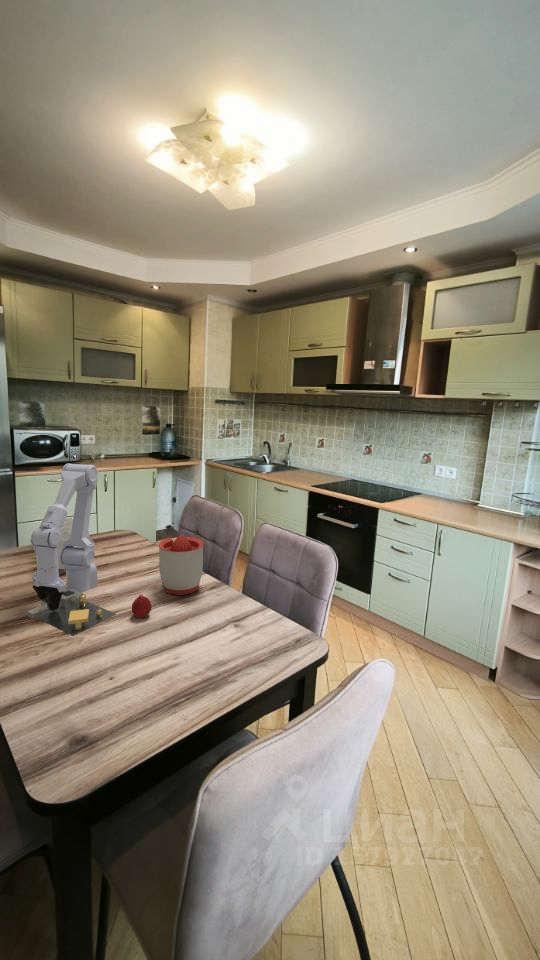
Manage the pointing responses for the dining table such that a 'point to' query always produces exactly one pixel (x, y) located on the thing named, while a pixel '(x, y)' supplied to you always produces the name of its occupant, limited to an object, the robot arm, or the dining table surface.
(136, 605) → the onion
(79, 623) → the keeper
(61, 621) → the plate
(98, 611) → the post
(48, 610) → the link
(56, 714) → the dining table surface
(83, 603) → the cylinder
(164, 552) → the citrus juicer
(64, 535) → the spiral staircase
